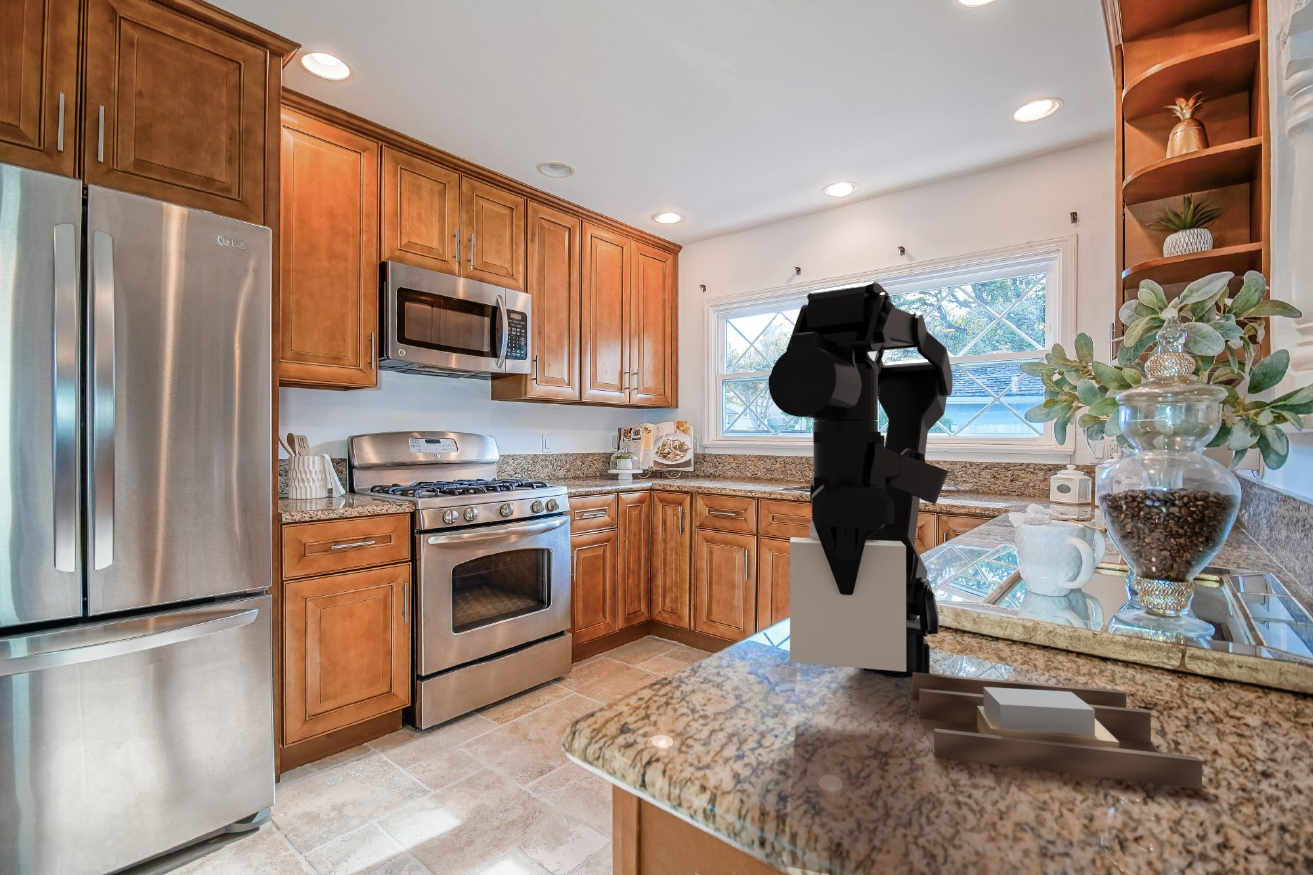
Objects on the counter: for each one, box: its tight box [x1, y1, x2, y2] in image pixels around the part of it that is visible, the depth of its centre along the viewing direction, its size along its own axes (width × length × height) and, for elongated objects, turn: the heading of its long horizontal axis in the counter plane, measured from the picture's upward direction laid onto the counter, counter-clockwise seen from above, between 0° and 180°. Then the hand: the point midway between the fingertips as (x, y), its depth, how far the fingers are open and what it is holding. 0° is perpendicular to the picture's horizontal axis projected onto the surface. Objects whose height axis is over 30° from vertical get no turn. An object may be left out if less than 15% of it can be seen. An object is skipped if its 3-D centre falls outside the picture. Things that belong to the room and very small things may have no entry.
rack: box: [909, 672, 1203, 790], centre depth 54 cm, size 18×14×4 cm
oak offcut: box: [977, 706, 1119, 748], centre depth 51 cm, size 9×4×2 cm, turn 76°
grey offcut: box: [984, 687, 1095, 735], centre depth 51 cm, size 7×4×2 cm, turn 82°
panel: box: [789, 536, 906, 672], centre depth 57 cm, size 10×3×11 cm, turn 77°
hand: (845, 590), depth 57 cm, fingers closed on panel, 3 cm apart
